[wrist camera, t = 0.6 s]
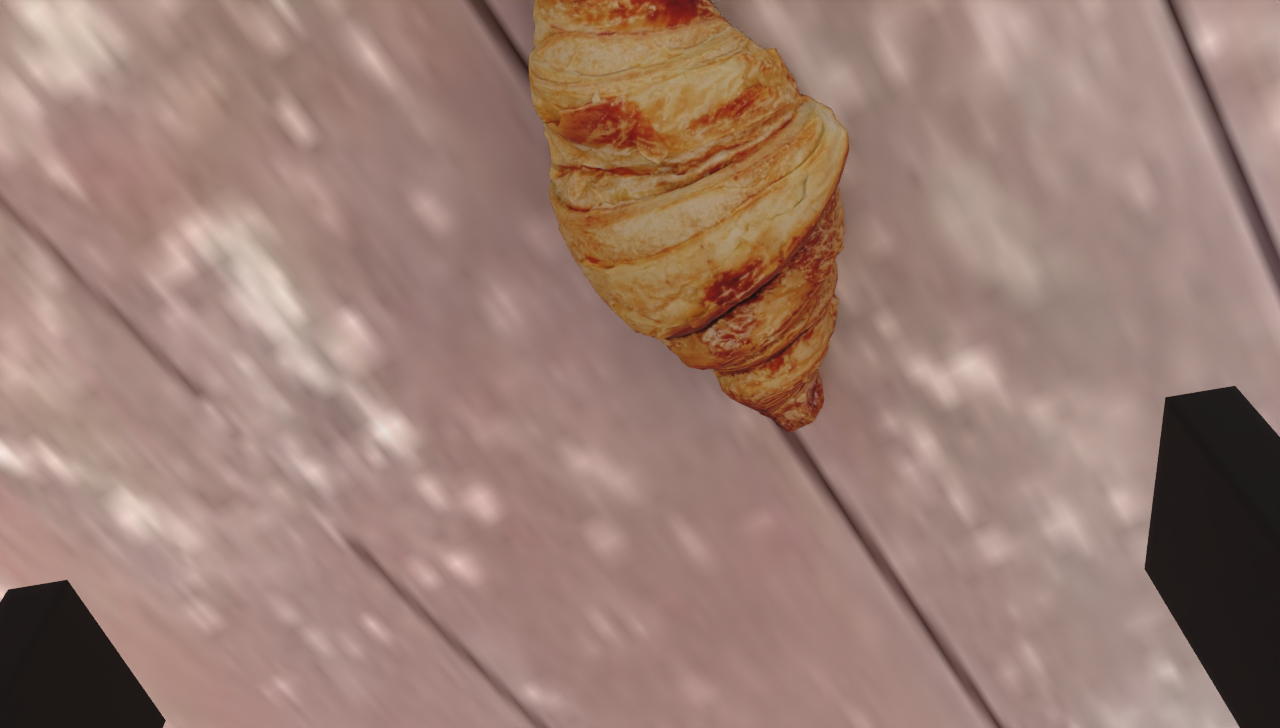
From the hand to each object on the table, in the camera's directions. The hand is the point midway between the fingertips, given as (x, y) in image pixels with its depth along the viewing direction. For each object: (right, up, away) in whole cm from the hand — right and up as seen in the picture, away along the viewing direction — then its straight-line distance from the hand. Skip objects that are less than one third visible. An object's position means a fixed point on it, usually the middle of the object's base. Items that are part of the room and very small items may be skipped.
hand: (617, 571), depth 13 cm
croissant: (+2, +10, +25) cm, 27 cm away
